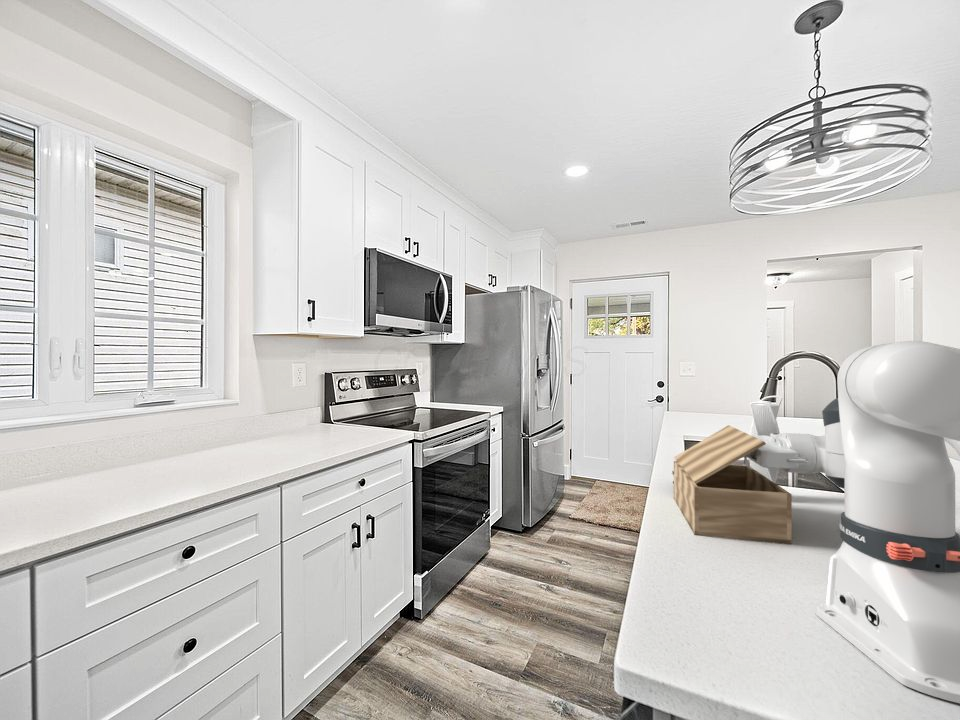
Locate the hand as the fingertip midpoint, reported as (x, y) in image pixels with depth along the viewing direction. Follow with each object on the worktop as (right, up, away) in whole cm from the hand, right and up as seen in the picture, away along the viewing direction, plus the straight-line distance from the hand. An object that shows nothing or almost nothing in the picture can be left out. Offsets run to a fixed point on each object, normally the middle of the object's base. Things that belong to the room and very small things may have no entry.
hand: (724, 449), depth 103 cm
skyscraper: (+19, -17, +16) cm, 30 cm away
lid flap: (-2, -1, 0) cm, 3 cm away
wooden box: (-1, -16, -1) cm, 16 cm away
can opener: (0, -17, +21) cm, 27 cm away
